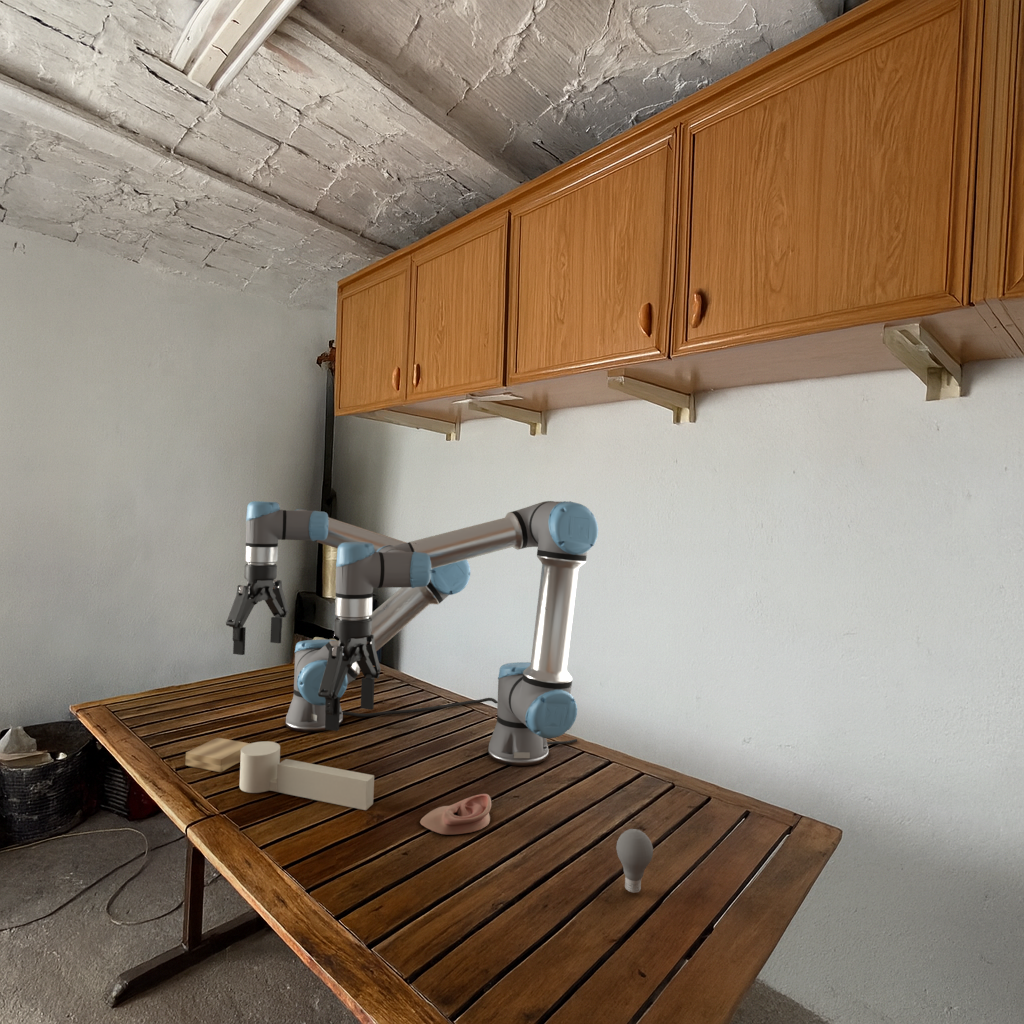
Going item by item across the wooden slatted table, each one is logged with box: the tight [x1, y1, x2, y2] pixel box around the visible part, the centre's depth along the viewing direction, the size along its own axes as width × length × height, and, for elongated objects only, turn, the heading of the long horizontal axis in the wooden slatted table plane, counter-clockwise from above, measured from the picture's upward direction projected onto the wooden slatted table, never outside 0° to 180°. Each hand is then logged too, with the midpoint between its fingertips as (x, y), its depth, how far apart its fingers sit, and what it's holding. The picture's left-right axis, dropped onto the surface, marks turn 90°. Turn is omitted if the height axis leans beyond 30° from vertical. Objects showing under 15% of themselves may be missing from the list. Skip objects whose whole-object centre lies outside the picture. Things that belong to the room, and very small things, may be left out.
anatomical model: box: [419, 793, 492, 836], centre depth 126 cm, size 13×4×12 cm
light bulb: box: [615, 828, 654, 894], centre depth 106 cm, size 6×6×10 cm
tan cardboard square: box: [184, 737, 251, 773], centre depth 149 cm, size 10×10×3 cm
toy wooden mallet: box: [239, 741, 375, 811], centre depth 135 cm, size 31×8×8 cm, turn 73°
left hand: (258, 648), depth 158 cm, fingers open, 13 cm apart
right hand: (350, 718), depth 132 cm, fingers open, 13 cm apart
